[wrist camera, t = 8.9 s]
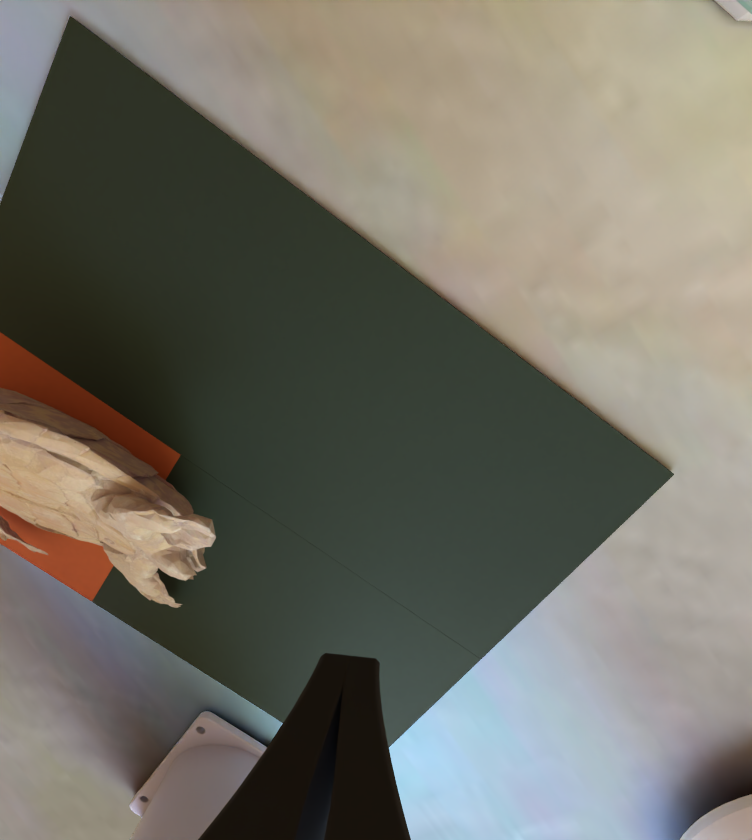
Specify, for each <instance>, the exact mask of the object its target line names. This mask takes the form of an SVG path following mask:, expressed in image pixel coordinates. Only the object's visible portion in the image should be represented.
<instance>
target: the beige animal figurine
mask: <svg viewBox="0 0 752 840" xmlns="http://www.w3.org/2000/svg"><path fill="white" fill-rule="evenodd" d="M158 473H159V472H157V471H156V470H155V469H154V468H153V467H152V466H151V465H149V464H147V463H145V462H143V461H142V460H140V459H138V458H136V457H134V456H133V455H132V454H131V453H130V452H129V451H128V450H127V449H126V448H124V447H123V446H121V445H120V444H118V443H116V442H114V441H112V440H111V439H109V438H108V437H107V436H106V435H105V434H103V433H102V432H100V431H99V430H97V429H96V428H94V427H92V426H90V425H88V424H86V423H84V422H82V421H79V420H77V419H75V418H73V417H71V416H69V415H67V414H65V413H64V412H62V411H60V410H57V409H55V408H53V407H50V406H48V405H46V404H44V403H41V402H39V401H37V400H35V399H32V398H30V397H28V396H25V395H23V394H20V393H18V392H16V391H12V390H8V389H4V388H0V506H2V507H3V508H5V509H7V510H8V511H10V512H12V513H15V514H16V515H18V516H19V517H21V518H22V519H24V520H25V521H27V522H29V523H31V524H33V525H35V526H36V527H38V528H40V529H43V530H45V531H49V532H52V533H57V534H61V535H65V536H68V537H70V538H73V539H77V540H80V541H86V542H90V543H93V544H97V545H100V546H103V548H104V551H105V553H106V554H107V556H108V558H109V560H110V562H111V563H112V564H113V565H114V566H115V567H116V568H117V569H118V570H119V571H120V572H122V573H123V575H124V576H125V578H126V579H127V580H128V581H129V583H131V584H132V585H133V586H134V587H136V588H137V590H138V591H139V592H140V593H141V594H142V595H144V596H145V597H146V598H147V599H149V600H151V599H152V600H154V601H156V602H158V603H160V604H168V605H169V606H171V607H176V608H178V607H180V606H179V605H182V604H178V603H175V601H174V599H173V598H172V597H170V596H169V595H168V592H167V590H166V588H165V585H164V584H163V582H162V581H161V580H160V578H159V574H158V573H157V571H158V568H159V569H160V570H162V571H163V572H164V573H166V574H168V575H169V576H171V577H175V578H177V579H181V580H185V581H186V580H188V579H193V576H194V575H197V574H196V573H195V571H197V572H199V571H201V570H204V569H206V564H205V560H204V556H203V554H204V552H205V547H211V546H212V544H213V542H214V540H215V539H216V535H215V530H214V526H213V521H212V519H209V518H206V517H203V516H199V515H196V514H193V512H194V511H193V509H192V506H191V504H190V503H189V501H188V500H187V499H186V498H185V497H184V496H183V495H181V494H180V493H179V492H177V491H176V489H175V488H174V487H173V485H172V484H170V483H169V482H167V481H166V480H164V479H163V478H161V477H160V476H158V475H157V474H158ZM0 538H1V539H3V540H4V541H6V540H7V539H12V540H17V541H18V542H20V543H21V544H23V545H24V546H26V547H27V548H28V549H29V550H31V551H33V552H36V551H37V552H39V553H42V554H46V555H48V553H46V552H45V551H43V550H41V549H38V548H36V547H34V546H32V545H31V544H27V543H26V542H24V541H23V540H22V539H21V538H20V537H19V536H18V534H17V533H16V532H14V531H12V530H11V528H10V527H9V523H8V521H6V520H4V519H3V518H2V516H0ZM194 570H195V571H194ZM193 580H194V579H193Z"/></svg>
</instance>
